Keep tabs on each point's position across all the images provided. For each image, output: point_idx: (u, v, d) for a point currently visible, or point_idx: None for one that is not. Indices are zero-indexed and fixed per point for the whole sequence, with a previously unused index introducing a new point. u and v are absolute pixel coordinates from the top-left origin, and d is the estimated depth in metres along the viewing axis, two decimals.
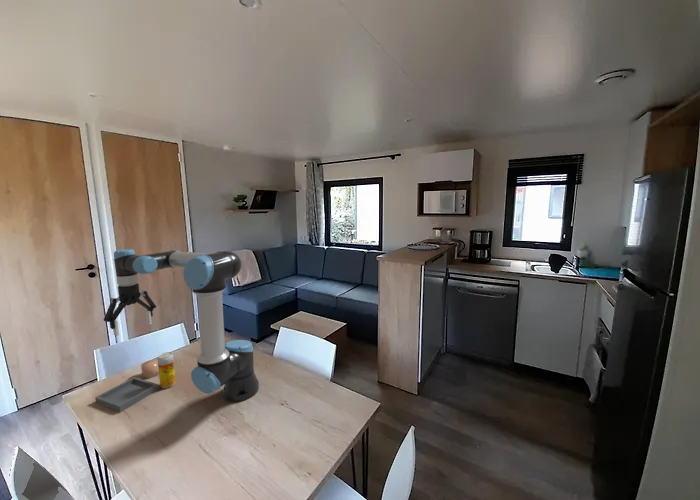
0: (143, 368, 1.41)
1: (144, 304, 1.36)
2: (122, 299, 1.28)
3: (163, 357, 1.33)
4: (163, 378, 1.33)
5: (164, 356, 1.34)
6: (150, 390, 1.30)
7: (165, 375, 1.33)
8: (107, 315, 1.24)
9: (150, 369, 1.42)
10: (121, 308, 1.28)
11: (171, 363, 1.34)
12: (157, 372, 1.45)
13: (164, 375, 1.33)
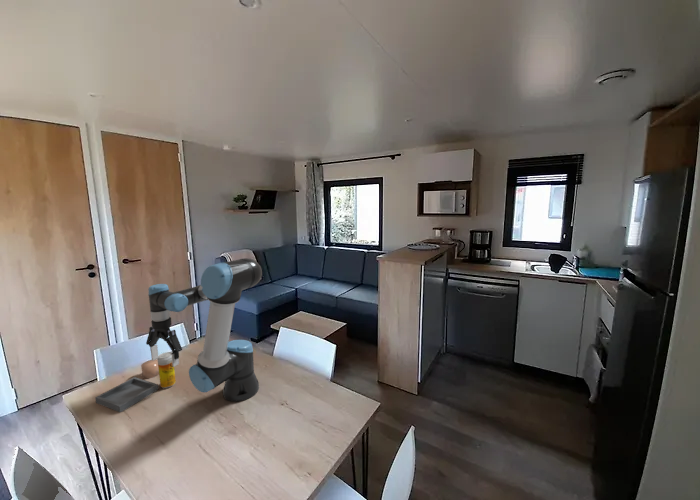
0: (143, 368, 1.41)
1: (168, 344, 1.31)
2: (154, 330, 1.33)
3: (163, 357, 1.33)
4: (163, 378, 1.33)
5: (164, 356, 1.34)
6: (150, 390, 1.30)
7: (165, 375, 1.33)
8: None
9: (150, 369, 1.42)
10: (154, 338, 1.34)
11: (171, 363, 1.34)
12: (157, 372, 1.45)
13: (165, 375, 1.33)
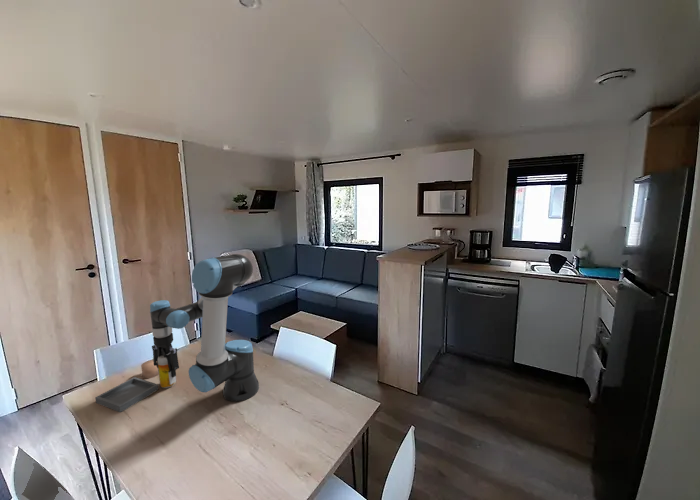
0: (143, 368, 1.41)
1: (167, 361, 1.32)
2: (157, 346, 1.34)
3: (163, 357, 1.33)
4: (163, 378, 1.33)
5: None
6: (150, 390, 1.30)
7: (165, 375, 1.33)
8: None
9: (150, 369, 1.42)
10: None
11: None
12: (157, 372, 1.45)
13: (165, 375, 1.33)
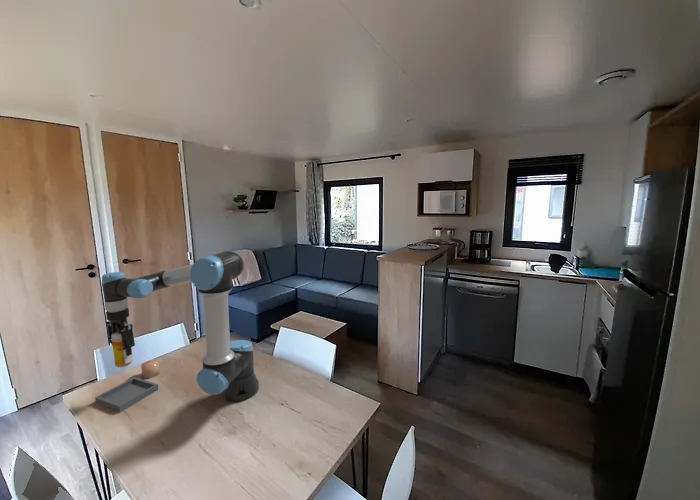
0: (143, 368, 1.41)
1: (122, 338, 1.22)
2: (111, 322, 1.24)
3: (117, 333, 1.23)
4: (117, 356, 1.23)
5: None
6: (150, 390, 1.30)
7: (119, 352, 1.23)
8: None
9: (150, 369, 1.42)
10: None
11: None
12: (157, 372, 1.45)
13: (119, 353, 1.23)
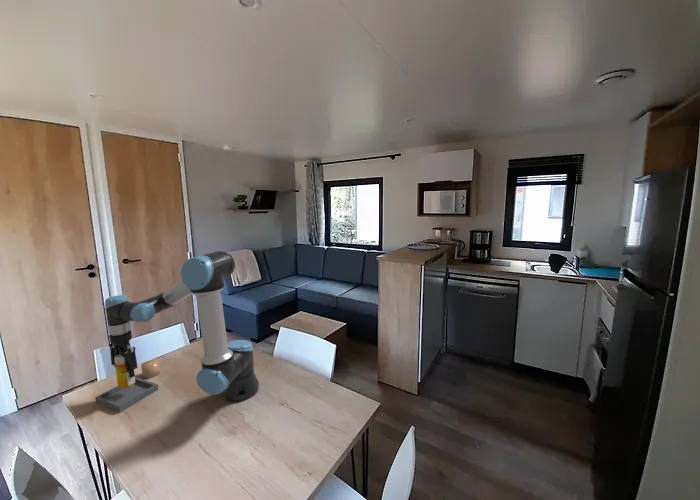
0: (143, 368, 1.41)
1: (125, 360, 1.24)
2: (114, 345, 1.25)
3: (120, 356, 1.24)
4: (120, 378, 1.24)
5: None
6: (150, 390, 1.30)
7: (122, 375, 1.24)
8: None
9: (150, 369, 1.42)
10: None
11: None
12: (157, 372, 1.45)
13: (122, 375, 1.24)
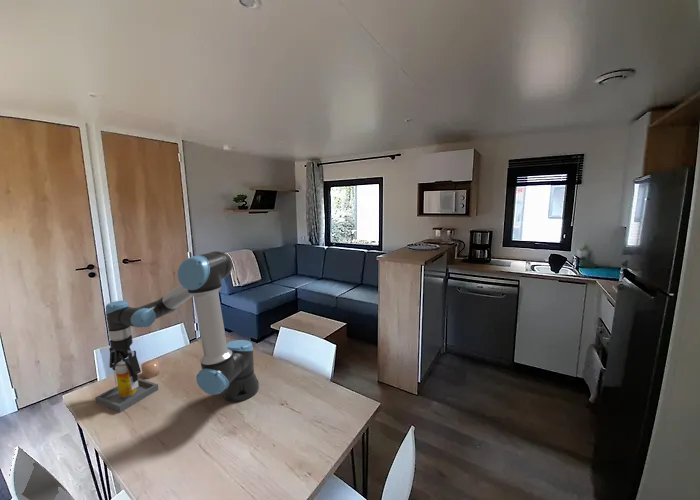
0: (143, 368, 1.41)
1: (127, 365, 1.24)
2: (114, 350, 1.26)
3: (121, 365, 1.24)
4: (121, 387, 1.25)
5: (122, 364, 1.25)
6: (150, 390, 1.30)
7: (123, 384, 1.25)
8: None
9: (150, 369, 1.42)
10: (115, 359, 1.26)
11: None
12: (157, 372, 1.45)
13: (123, 384, 1.25)
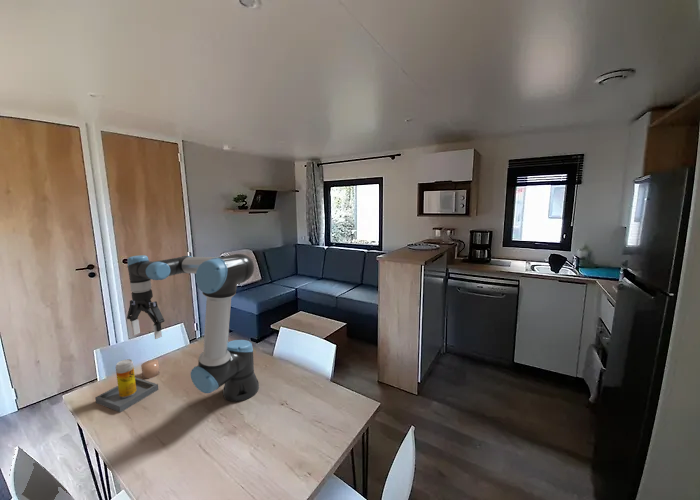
0: (143, 368, 1.41)
1: (150, 315, 1.28)
2: (135, 303, 1.30)
3: (121, 365, 1.25)
4: (121, 387, 1.25)
5: (123, 363, 1.26)
6: (150, 390, 1.30)
7: (123, 383, 1.25)
8: None
9: (150, 369, 1.42)
10: (135, 311, 1.31)
11: (130, 371, 1.27)
12: (157, 372, 1.45)
13: (123, 384, 1.25)
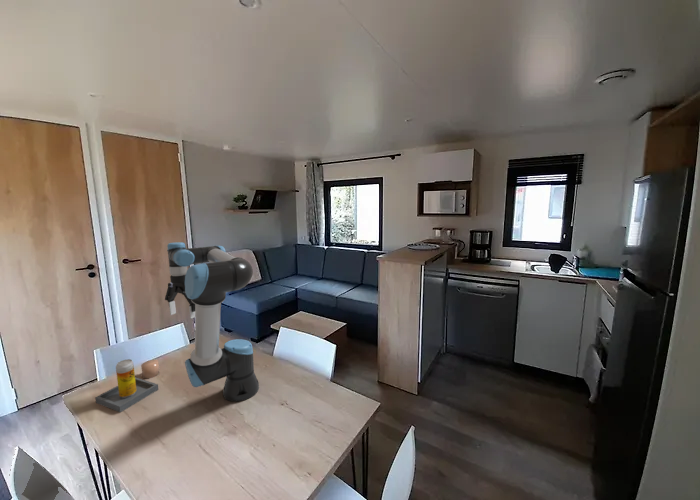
0: (143, 368, 1.41)
1: (186, 297, 1.41)
2: (173, 286, 1.43)
3: (122, 365, 1.25)
4: (121, 387, 1.25)
5: (123, 363, 1.26)
6: (150, 390, 1.30)
7: (123, 383, 1.25)
8: None
9: (150, 369, 1.42)
10: (172, 293, 1.44)
11: (131, 371, 1.27)
12: (157, 372, 1.45)
13: (123, 384, 1.25)
